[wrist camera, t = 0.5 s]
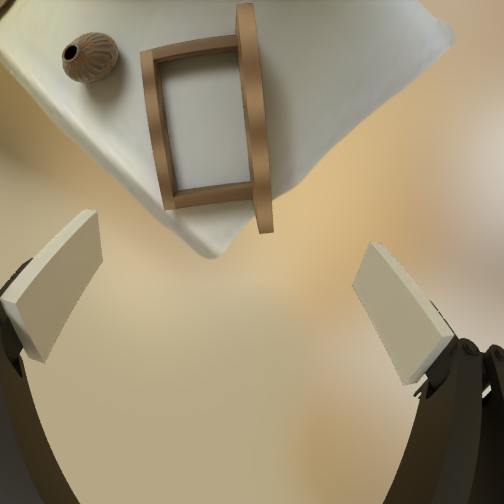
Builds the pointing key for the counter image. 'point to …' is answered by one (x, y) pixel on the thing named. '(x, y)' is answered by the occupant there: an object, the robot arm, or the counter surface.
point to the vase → (90, 57)
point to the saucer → (3, 3)
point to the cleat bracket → (253, 117)
